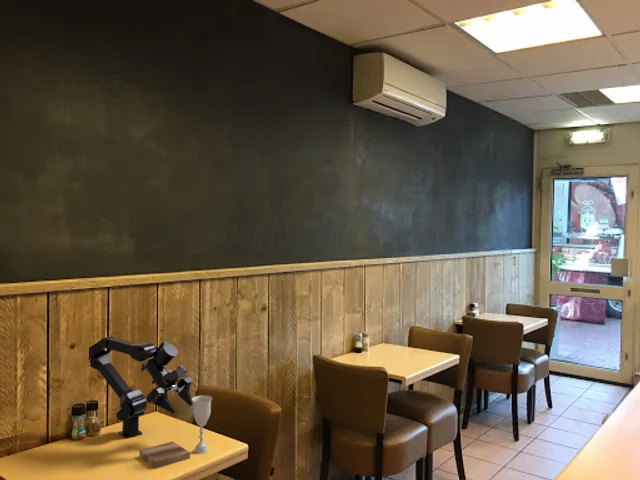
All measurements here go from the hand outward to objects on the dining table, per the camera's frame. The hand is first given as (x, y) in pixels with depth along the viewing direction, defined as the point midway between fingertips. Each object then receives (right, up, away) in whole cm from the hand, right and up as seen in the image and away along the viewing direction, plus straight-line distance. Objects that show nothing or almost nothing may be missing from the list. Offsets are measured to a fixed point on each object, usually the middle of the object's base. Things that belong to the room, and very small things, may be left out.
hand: (183, 409), depth 191 cm
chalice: (+7, -13, -3) cm, 16 cm away
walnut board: (-4, -13, -9) cm, 16 cm away
